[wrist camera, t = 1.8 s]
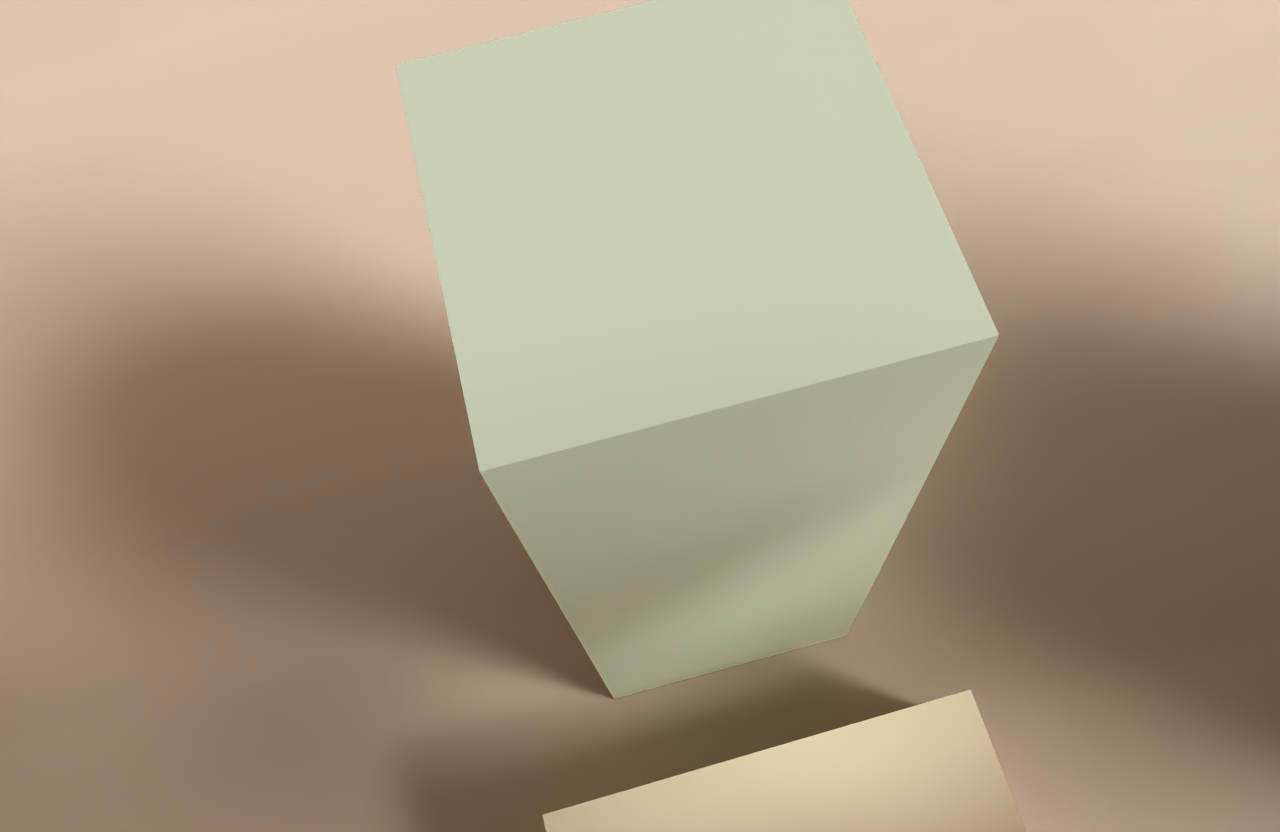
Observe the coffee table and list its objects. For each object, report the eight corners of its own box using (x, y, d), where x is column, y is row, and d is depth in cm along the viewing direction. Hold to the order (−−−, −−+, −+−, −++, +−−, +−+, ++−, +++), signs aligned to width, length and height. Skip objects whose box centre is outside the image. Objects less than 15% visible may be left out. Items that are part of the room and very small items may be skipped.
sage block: (847, 635, 20) (998, 335, 9) (614, 699, 20) (478, 471, 9) (775, 422, 22) (829, -43, 11) (561, 479, 22) (396, 64, 11)
